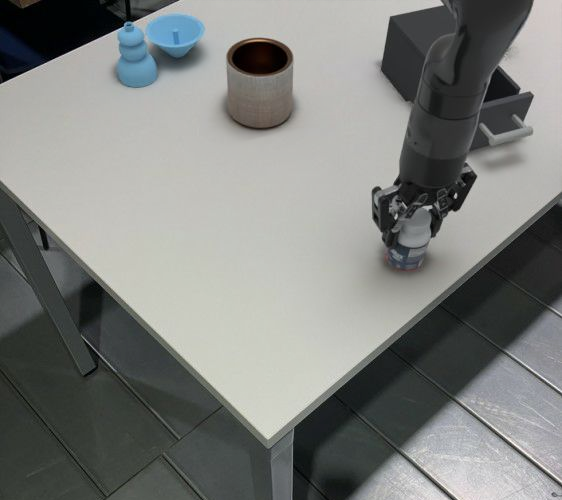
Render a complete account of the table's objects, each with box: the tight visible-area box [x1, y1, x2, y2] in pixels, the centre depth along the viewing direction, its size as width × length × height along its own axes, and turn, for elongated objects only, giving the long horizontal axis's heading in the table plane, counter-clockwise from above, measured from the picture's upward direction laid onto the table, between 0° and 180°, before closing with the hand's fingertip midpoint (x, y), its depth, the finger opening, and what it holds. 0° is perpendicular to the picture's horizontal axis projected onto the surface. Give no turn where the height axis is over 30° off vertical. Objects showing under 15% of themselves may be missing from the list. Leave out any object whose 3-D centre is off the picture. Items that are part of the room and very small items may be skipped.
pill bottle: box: [385, 206, 431, 272], centre depth 85 cm, size 5×5×9 cm
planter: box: [225, 37, 295, 129], centre depth 102 cm, size 11×11×10 cm
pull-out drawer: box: [469, 64, 535, 152], centre depth 100 cm, size 18×11×8 cm, turn 22°
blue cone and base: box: [116, 13, 206, 88], centre depth 108 cm, size 18×10×9 cm, turn 136°
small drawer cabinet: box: [380, 4, 456, 105], centre depth 106 cm, size 15×13×10 cm
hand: (409, 239), depth 85 cm, fingers open, 5 cm apart
